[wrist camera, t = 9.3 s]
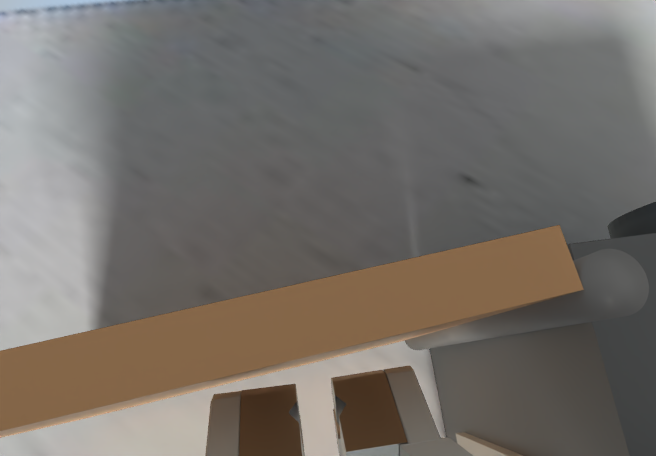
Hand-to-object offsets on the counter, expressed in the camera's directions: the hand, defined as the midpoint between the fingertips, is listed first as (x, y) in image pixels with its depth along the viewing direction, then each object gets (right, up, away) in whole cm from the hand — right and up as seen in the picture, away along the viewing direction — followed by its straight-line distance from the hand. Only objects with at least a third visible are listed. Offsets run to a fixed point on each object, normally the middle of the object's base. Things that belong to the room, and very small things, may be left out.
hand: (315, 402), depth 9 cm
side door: (-3, -2, +10) cm, 10 cm away
